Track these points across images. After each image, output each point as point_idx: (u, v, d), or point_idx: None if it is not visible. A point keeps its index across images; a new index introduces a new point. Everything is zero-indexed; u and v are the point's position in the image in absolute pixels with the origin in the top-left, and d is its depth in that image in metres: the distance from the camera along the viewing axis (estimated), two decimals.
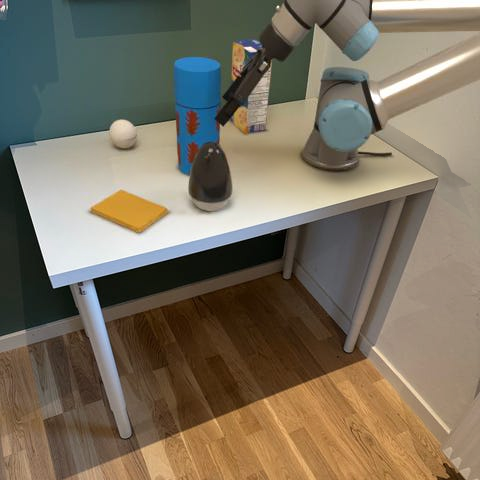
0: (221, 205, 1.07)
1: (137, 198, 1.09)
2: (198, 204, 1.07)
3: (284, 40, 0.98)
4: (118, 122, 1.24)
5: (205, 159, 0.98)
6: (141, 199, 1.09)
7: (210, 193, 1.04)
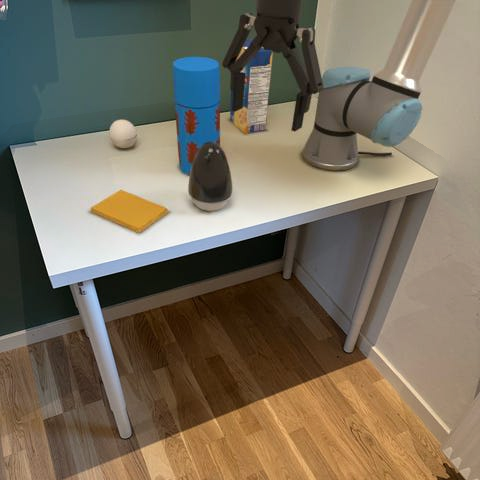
0: (221, 205, 1.07)
1: (137, 198, 1.09)
2: (198, 204, 1.07)
3: None
4: (118, 122, 1.24)
5: (205, 159, 0.98)
6: (141, 199, 1.09)
7: (210, 193, 1.04)
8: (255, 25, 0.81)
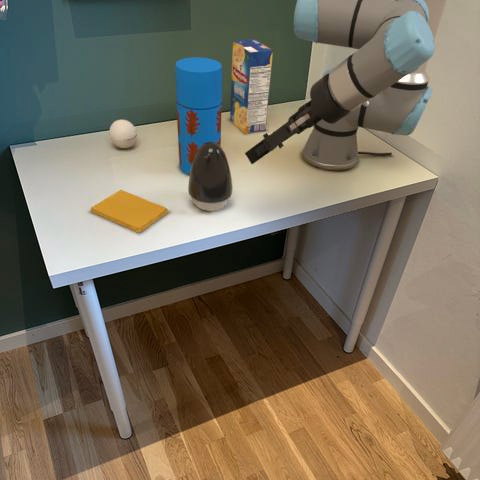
0: (221, 205, 1.07)
1: (137, 198, 1.09)
2: (198, 204, 1.07)
3: None
4: (118, 122, 1.24)
5: (205, 159, 0.98)
6: (141, 199, 1.09)
7: (210, 193, 1.04)
8: (308, 123, 0.83)
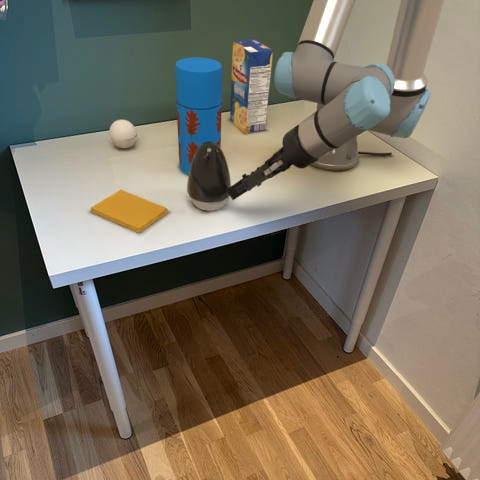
0: (220, 205, 1.07)
1: (137, 198, 1.09)
2: (197, 204, 1.07)
3: None
4: (118, 122, 1.24)
5: (204, 159, 0.98)
6: (141, 199, 1.09)
7: (209, 193, 1.04)
8: None
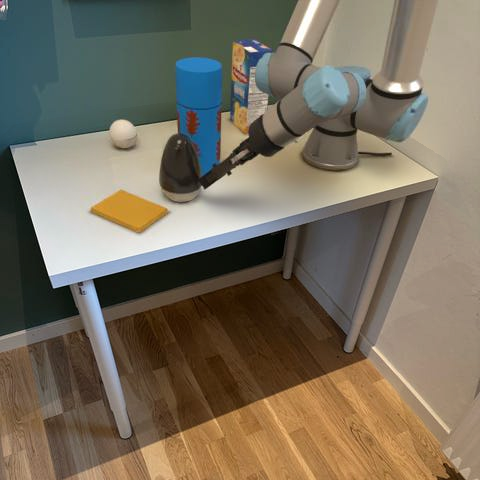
0: (193, 195, 1.10)
1: (137, 198, 1.09)
2: (170, 196, 1.09)
3: None
4: (118, 122, 1.24)
5: (176, 150, 1.00)
6: (141, 199, 1.09)
7: (182, 184, 1.06)
8: (248, 156, 0.93)
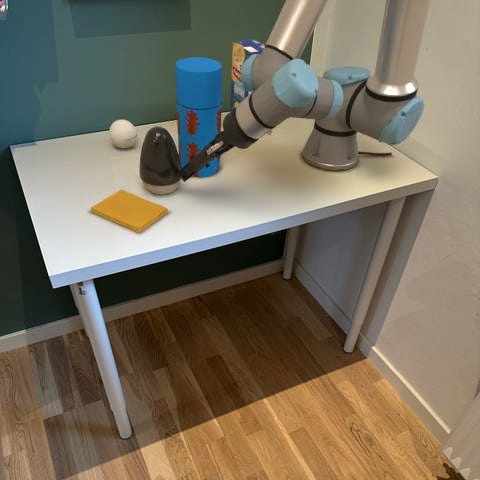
0: (173, 188, 1.12)
1: (137, 198, 1.09)
2: (150, 188, 1.11)
3: None
4: (118, 122, 1.24)
5: (153, 143, 1.02)
6: (141, 199, 1.09)
7: (161, 176, 1.08)
8: (223, 148, 0.95)
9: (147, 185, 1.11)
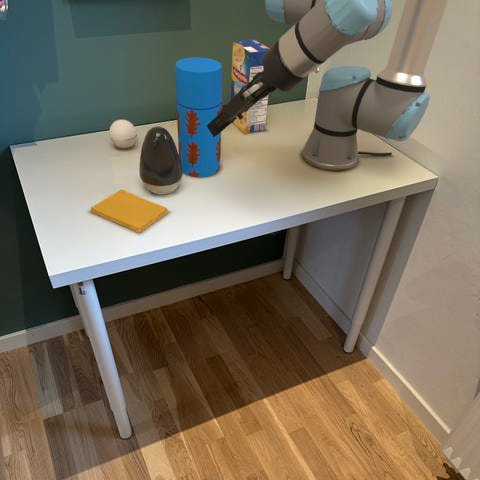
0: (173, 187, 1.12)
1: (137, 198, 1.09)
2: (150, 188, 1.11)
3: None
4: (118, 122, 1.24)
5: (153, 143, 1.02)
6: (141, 199, 1.09)
7: (161, 176, 1.08)
8: (261, 91, 0.84)
9: (147, 185, 1.11)
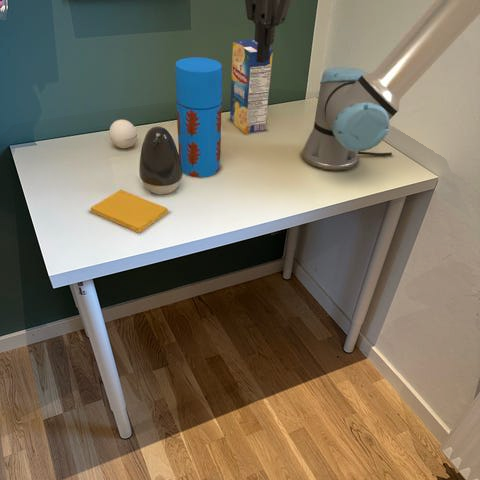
0: (173, 187, 1.12)
1: (137, 198, 1.09)
2: (150, 188, 1.11)
3: None
4: (118, 122, 1.24)
5: (153, 143, 1.02)
6: (141, 199, 1.09)
7: (161, 176, 1.08)
8: None
9: (147, 185, 1.11)
